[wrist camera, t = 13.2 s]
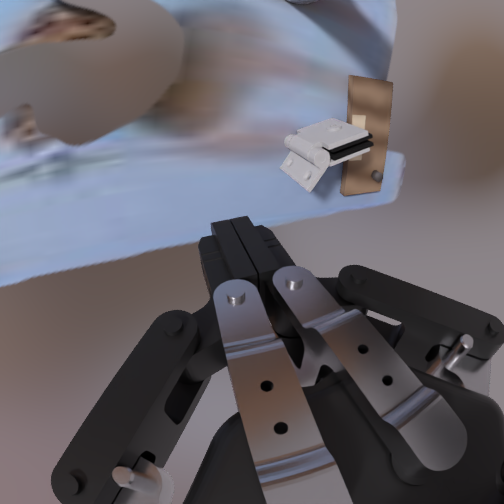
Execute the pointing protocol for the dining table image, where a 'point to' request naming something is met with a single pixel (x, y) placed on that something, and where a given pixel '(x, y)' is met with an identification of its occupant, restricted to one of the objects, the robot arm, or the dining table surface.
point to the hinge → (322, 149)
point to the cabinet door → (376, 123)
